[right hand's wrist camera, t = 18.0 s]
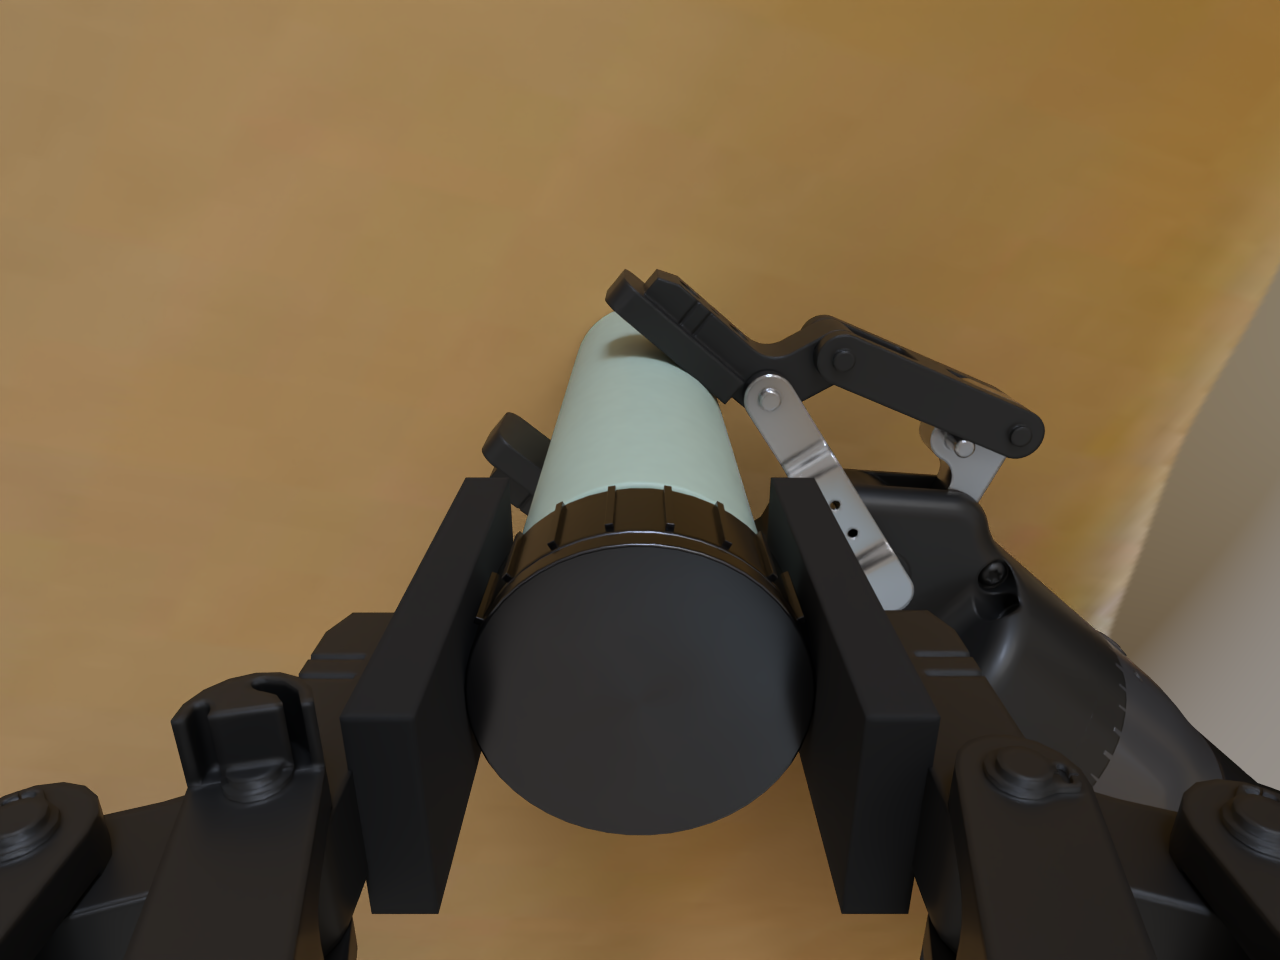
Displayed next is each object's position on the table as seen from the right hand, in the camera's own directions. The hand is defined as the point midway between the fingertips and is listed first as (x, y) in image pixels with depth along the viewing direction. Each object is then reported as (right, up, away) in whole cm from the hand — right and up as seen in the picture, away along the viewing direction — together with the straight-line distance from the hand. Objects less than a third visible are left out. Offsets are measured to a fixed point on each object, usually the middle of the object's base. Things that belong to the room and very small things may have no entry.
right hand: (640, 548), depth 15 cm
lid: (0, -1, -4) cm, 4 cm away
